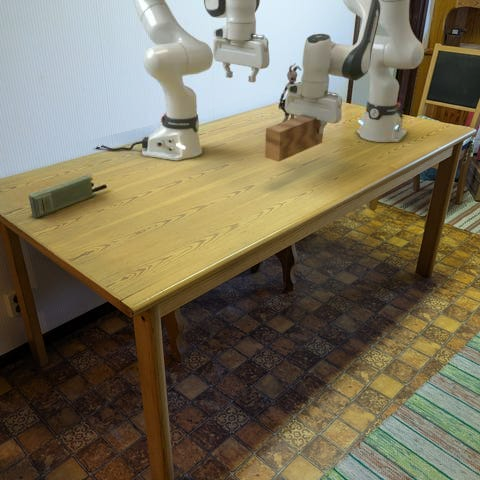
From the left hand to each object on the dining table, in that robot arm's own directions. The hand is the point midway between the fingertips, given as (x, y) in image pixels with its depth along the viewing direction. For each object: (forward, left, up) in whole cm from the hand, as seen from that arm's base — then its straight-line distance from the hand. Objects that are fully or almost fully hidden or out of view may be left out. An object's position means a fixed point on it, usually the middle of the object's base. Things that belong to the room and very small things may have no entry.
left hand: (240, 79), depth 159 cm
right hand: (+23, +7, -17) cm, 29 cm away
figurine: (+13, +41, -31) cm, 53 cm away
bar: (+19, -1, -21) cm, 28 cm away
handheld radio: (-44, -35, -31) cm, 64 cm away
